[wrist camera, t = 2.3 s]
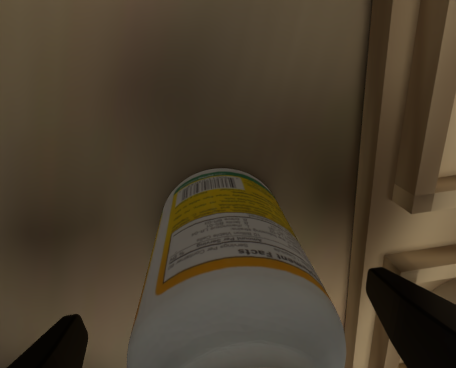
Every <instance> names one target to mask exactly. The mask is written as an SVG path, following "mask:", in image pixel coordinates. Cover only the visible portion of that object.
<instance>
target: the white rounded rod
mask: <svg viewBox="0 0 456 368" xmlns="http://www.w3.org/2000/svg"><path fill="white" fill-rule="evenodd" d="M431 292H433V293H435V294H436V295H438V296H440V297H442V298H444V299H446V300H448V301H450V302H452V303H454V304H456V279H453V280H450V281H448V282H446V283H444V284H442V285H440V286H438V287H437V288H435V289H434V290H433V291H431Z"/></svg>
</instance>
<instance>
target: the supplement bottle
mask: <svg viewBox="0 0 456 368" xmlns="http://www.w3.org/2000/svg"><path fill="white" fill-rule="evenodd" d="M345 360H346V341H345V334H344V329H343V326H342V323H341V320H340V318H339V315H338V313H337V311H336V309H335V307H334V305H333V303H332V301H331V300H330V298H329V296H328V294H327V292H326V290H325V288H324V286H323V284H322V283H321V281H320V279H319V278H318V276H317V274H316V272H315V270H314V268H313V266H312V265H311V263H310V261H309V259H308V257H307V256H306V254H305V252H304V251H303V249H302V247H301V245H300V243H299V242H298V240H297V238H296V236H295V234H294V233H293V231H292V229H291V227H290V225H289V223H288V222H287V220H286V218H285V216H284V214H283V212H282V211H281V209H280V207H279V205H278V203H277V201H276V200H275V198H274V196H273V195H272V193H271V191H270V190H269V189H268V188H267V187H266V186H265V185H264V184H263V183H262V182H261V181H260V180H258V179H257V178H255V177H254V176H252V175H250V174H248V173H246V172H243V171H240V170H235V169H228V168H216V169H209V170H205V171H201V172H199V173H196V174H194V175H192V176H190V177H188V178H187V179H185V180H184V181H182V182H181V183H180V184H179V185H178V186H177V187H176V188H175V189H174V190H173V191H172V193H171V194H170V196H169V197H168V199H167V201H166V203H165V205H164V208H163V211H162V214H161V218H160V223H159V227H158V230H157V234H156V238H155V242H154V246H153V250H152V254H151V258H150V262H149V266H148V270H147V274H146V278H145V282H144V286H143V290H142V294H141V298H140V301H139V305H138V309H137V313H136V317H135V321H134V324H133V328H132V332H131V336H130V341H129V345H128V353H127V368H344V367H345Z"/></svg>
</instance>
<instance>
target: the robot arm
mask: <svg viewBox="0 0 456 368" xmlns="http://www.w3.org/2000/svg"><path fill="white" fill-rule="evenodd" d="M366 293H367V296H368V298H369V300H370V302H371V304H372V306H373V308H374V310H375V312H376V314H377V316H378V318H379V320H380V322H381V324H382V326H383V328H384V330H385V332H386V333H387V335H388V337H389V339H390V341H391V343H392V345H393V346H394V348H395V350H396V351H397V353H398V354H399V356H400V358H401V359H402V361H403V362H404V364H405V365H406V367H407V368H456V304H454V303H452V302H450V301H448V300H446V299H444V298H442V297H440V296H438V295H436V294H435V293H433V292H431V291H429V290H427V289H425V288H423V287H421V286H419V285H417V284H415V283H413V282H411V281H409V280H407V279H405V278H403V277H401V276H399V275H398V274H396V273H394V272H392V271H390V270H388V269H386V268H384V267H375V268H370V269H369V270H368V273H367V281H366ZM87 343H88V332H87V330H86V328H85V325H84V323H83V321H82V318H81V316H80V315H78V314H73V315H67V316H64V317H62V318H61V319H60V320H59V321H58V322H57V323H56V324H54V325H53V326H52V327H51V328H50V329H49V330H48V331H47V332H46V333H45V334H44V335H42V336H41V337H40V338H39V339H38V340H37V341H36V342H35V343H34V344H33V345H31V346H30V347H29V348H28V349H27V350H26V351H25V352H24V353H23V354H22V355H20V356H19V357H18V358H17V359H16V360H15V361H14V362H13V363H12V364H11V365H9V366H8V367H7V368H82V366H83V361H84V356H85V352H86V347H87Z"/></svg>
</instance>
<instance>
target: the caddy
mask: <svg viewBox="0 0 456 368" xmlns="http://www.w3.org/2000/svg"><path fill="white" fill-rule="evenodd" d="M375 267H384V268H386V269H388V270H390V271H392V272H394V273H396V274H398V275H399V276H401V277H403V278H405V279H407V280H409V281H411V282H413V283H415V284H417V285H419V286H421V287H423V288H425V289H427V290H429V291H433V290H434V289H435V288H437V287H438V286H440V285H442V284H444V283H446V282H448V281H450V280H453V279H456V0H372V12H371V24H370V36H369V48H368V60H367V71H366V83H365V95H364V107H363V119H362V131H361V142H360V154H359V166H358V178H357V190H356V201H355V213H354V225H353V237H352V249H351V261H350V272H349V284H348V296H347V308H346V320H345V332H344V334H345V341H346V360H345V367H344V368H407V367H406V365H405V364H404V362H403V361H402V359H401V358H400V356H399V354H398V353H397V351H396V350H395V348H394V346H393V345H392V343H391V341H390V339H389V337H388V335H387V333H386V332H385V330H384V328H383V326H382V324H381V322H380V320H379V318H378V316H377V314H376V312H375V310H374V308H373V306H372V304H371V302H370V300H369V298H368V296H367V293H366V281H367V273H368V270H369V269H370V268H375Z"/></svg>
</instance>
